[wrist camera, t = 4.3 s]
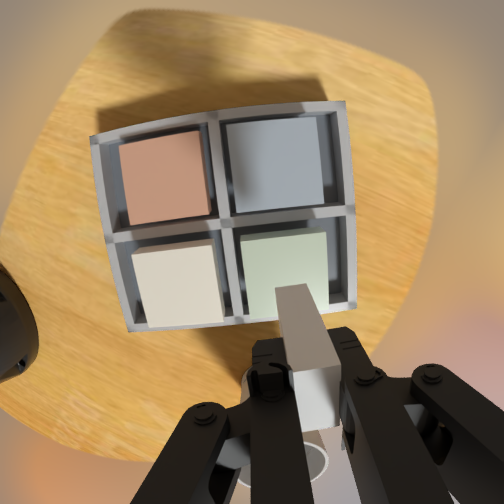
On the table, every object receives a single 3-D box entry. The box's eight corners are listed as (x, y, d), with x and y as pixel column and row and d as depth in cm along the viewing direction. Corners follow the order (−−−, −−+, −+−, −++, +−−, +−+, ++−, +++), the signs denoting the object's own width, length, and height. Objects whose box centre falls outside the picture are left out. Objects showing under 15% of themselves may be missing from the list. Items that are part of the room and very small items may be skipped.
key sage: (249, 307, 26) (250, 319, 24) (240, 235, 24) (240, 241, 22) (323, 298, 26) (328, 309, 24) (319, 226, 24) (326, 232, 22)
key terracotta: (138, 220, 24) (130, 225, 23) (127, 146, 23) (118, 145, 21) (211, 210, 24) (208, 214, 23) (202, 133, 23) (198, 130, 21)
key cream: (155, 316, 26) (148, 327, 24) (139, 247, 24) (131, 254, 22) (225, 310, 26) (223, 322, 24) (214, 238, 24) (211, 245, 22)
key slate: (237, 208, 24) (236, 213, 22) (227, 128, 22) (226, 124, 20) (317, 200, 23) (324, 203, 22) (309, 120, 22) (315, 117, 20)
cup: (218, 382, 33) (210, 468, 21) (273, 339, 31) (287, 425, 20) (267, 417, 34) (274, 499, 23) (321, 381, 33) (346, 463, 21)
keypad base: (140, 312, 30) (128, 332, 26) (108, 138, 26) (89, 136, 22) (343, 290, 30) (356, 308, 26) (331, 108, 25) (345, 100, 22)
